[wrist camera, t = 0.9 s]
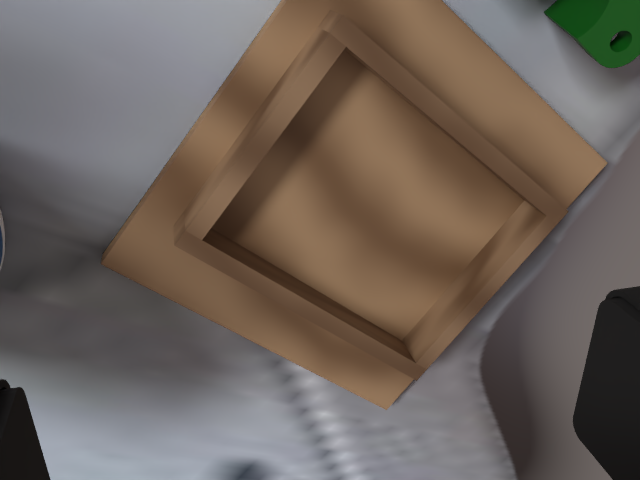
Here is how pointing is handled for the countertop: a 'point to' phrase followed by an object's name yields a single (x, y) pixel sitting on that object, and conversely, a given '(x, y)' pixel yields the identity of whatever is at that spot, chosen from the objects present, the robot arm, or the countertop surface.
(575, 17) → the clamp
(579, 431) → the robot arm
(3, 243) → the supplement tub
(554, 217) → the brown shallow square tray
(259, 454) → the countertop surface
